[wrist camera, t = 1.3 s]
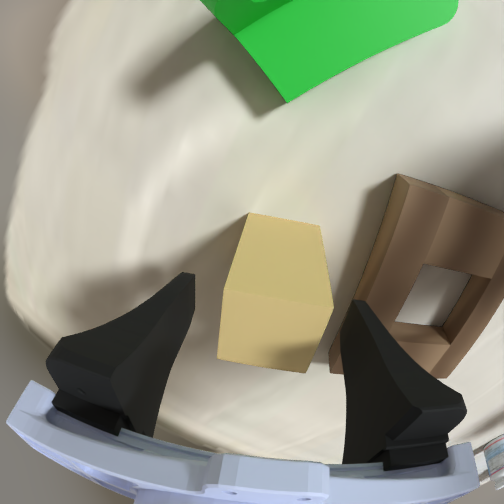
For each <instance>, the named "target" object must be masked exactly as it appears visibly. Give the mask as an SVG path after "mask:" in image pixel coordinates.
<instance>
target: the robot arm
mask: <svg viewBox="0 0 504 504" xmlns="http://www.w3.org/2000/svg"><path fill="white" fill-rule="evenodd" d="M194 310H195V274H190V273H184V272H182V273H180V274H179V275H178V276H177V277H175V278H174V279H173V280H172V281H171V282H170V283H168V284H167V285H166V286H165V287H163V288H162V289H161V290H160V291H158V292H157V293H156V294H155V295H153V296H152V297H151V298H149V299H148V300H146V301H145V302H144V303H142V304H141V305H139V306H138V307H136V308H135V309H133V310H132V311H130V312H128V313H126V314H125V315H123V316H121V317H119V318H117V319H115V320H113V321H110V322H108V323H106V324H104V325H102V326H99V327H96V328H94V329H91V330H88V331H85V332H82V333H78V334H74V335H70V336H66V337H62V338H61V339H60V341H59V342H58V343H57V345H56V346H55V348H54V349H53V350H52V352H51V353H50V355H49V356H48V358H47V360H46V366H47V369H48V371H49V373H50V374H51V376H52V378H53V380H54V381H55V383H56V385H57V386H58V388H59V390H58V392H57V394H55V393H54V392H53V391H51V390H50V389H48V388H46V387H44V386H42V385H40V384H38V383H36V382H35V381H33V380H31V381H30V383H29V384H28V386H27V387H26V389H25V390H24V392H23V393H22V395H21V397H20V399H19V400H18V402H17V403H16V405H15V407H14V408H13V410H12V412H11V414H10V415H9V417H8V419H7V421H6V423H7V424H8V425H9V426H10V427H11V428H12V429H13V430H14V431H15V432H16V433H17V434H18V435H19V436H20V437H21V438H22V439H23V440H24V441H26V442H27V443H28V444H29V445H30V446H31V447H32V448H34V449H35V450H37V451H38V452H40V453H42V454H43V455H45V456H47V457H48V458H50V459H52V460H53V461H55V462H57V463H59V464H61V465H63V466H64V467H66V468H68V469H69V470H71V471H73V472H75V473H77V474H79V475H81V476H83V477H85V478H87V479H89V480H91V481H93V482H95V483H97V484H99V485H101V486H103V487H105V488H108V489H110V490H112V491H114V492H117V493H119V494H122V495H124V496H127V497H129V498H132V499H134V500H135V501H134V504H448V503H450V502H452V501H454V500H456V499H458V498H460V497H462V496H464V495H466V494H468V493H470V492H471V491H473V490H475V489H477V488H479V486H480V482H479V477H478V472H477V467H476V463H475V458H474V454H473V450H472V446H471V442H466V443H462V444H457V445H453V446H450V447H448V448H447V447H446V442H448V441H449V437H448V433H449V432H450V431H451V430H452V429H454V428H455V427H456V426H457V425H458V424H459V423H460V422H461V421H462V420H463V419H464V417H465V416H466V414H467V409H466V406H465V403H464V400H463V397H462V394H460V393H458V392H456V391H455V390H453V389H451V388H450V387H448V386H446V385H445V384H443V383H442V382H440V381H439V380H437V379H436V378H435V377H433V376H432V375H431V374H429V373H428V372H427V371H426V370H425V369H423V368H422V367H421V366H420V365H419V364H418V363H417V362H415V361H414V360H413V359H412V358H411V357H410V356H409V355H408V354H407V353H406V352H405V351H404V349H403V348H402V347H401V346H400V345H399V344H398V343H397V341H396V340H395V339H394V338H393V337H392V335H391V334H390V333H389V332H388V330H387V329H386V328H385V327H384V325H383V324H382V323H381V321H380V320H379V319H378V317H377V316H376V314H375V313H374V312H373V310H372V309H371V308H370V306H369V305H368V304H367V303H366V301H362V300H355V299H353V300H352V303H351V305H350V308H349V310H348V313H347V315H346V318H345V320H344V322H343V325H342V327H341V330H340V352H341V359H342V366H343V373H344V380H345V388H346V433H345V445H344V453H343V461H342V464H323V463H321V462H313V461H302V460H286V459H275V458H265V457H257V456H249V455H242V454H231V453H222V454H217V453H212V452H207V451H202V450H198V449H193V448H189V447H185V446H181V445H177V444H173V443H169V442H165V441H162V440H158V439H154V438H153V434H154V429H155V425H156V420H157V416H158V412H159V408H160V404H161V401H162V397H163V393H164V390H165V386H166V383H167V380H168V376H169V373H170V370H171V368H172V365H173V363H174V360H175V358H176V356H177V354H178V352H179V349H180V347H181V345H182V343H183V340H184V338H185V336H186V334H187V331H188V329H189V327H190V324H191V320H192V317H193V314H194Z"/></svg>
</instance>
